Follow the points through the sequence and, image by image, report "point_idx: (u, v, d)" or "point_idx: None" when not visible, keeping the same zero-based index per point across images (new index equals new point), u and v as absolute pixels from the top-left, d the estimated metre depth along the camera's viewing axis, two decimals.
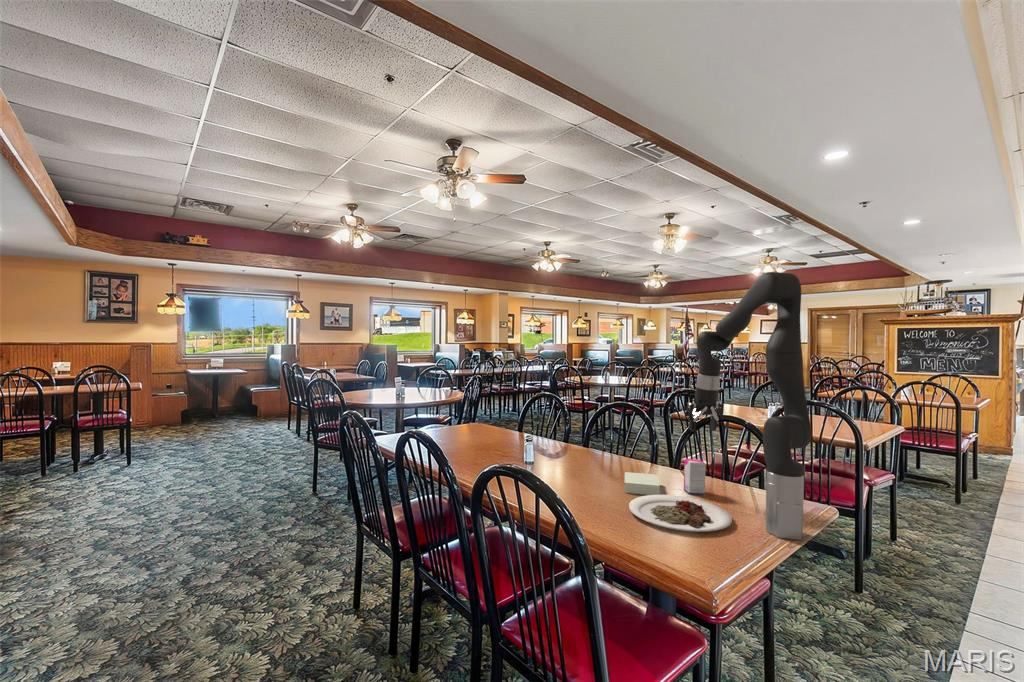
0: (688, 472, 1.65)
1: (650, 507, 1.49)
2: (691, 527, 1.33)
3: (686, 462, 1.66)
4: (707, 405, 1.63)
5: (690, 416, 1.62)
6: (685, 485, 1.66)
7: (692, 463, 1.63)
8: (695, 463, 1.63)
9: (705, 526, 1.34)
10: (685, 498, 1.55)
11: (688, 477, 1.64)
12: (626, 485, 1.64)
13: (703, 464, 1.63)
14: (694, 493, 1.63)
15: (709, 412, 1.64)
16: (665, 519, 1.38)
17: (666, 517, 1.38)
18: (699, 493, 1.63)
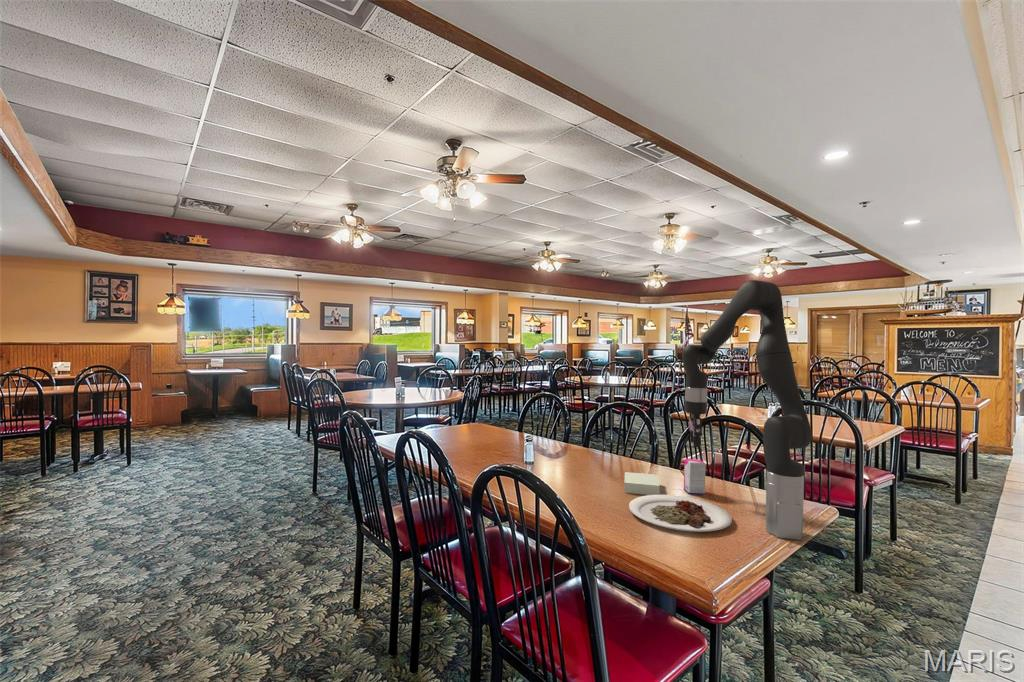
0: (688, 472, 1.65)
1: (650, 507, 1.49)
2: (691, 527, 1.33)
3: (686, 462, 1.66)
4: None
5: (701, 432, 1.59)
6: (685, 485, 1.66)
7: (692, 463, 1.63)
8: (695, 463, 1.63)
9: (705, 526, 1.34)
10: (685, 498, 1.55)
11: (688, 477, 1.64)
12: (626, 485, 1.64)
13: (703, 464, 1.63)
14: (694, 493, 1.63)
15: None
16: (665, 519, 1.38)
17: (666, 517, 1.38)
18: (699, 493, 1.63)
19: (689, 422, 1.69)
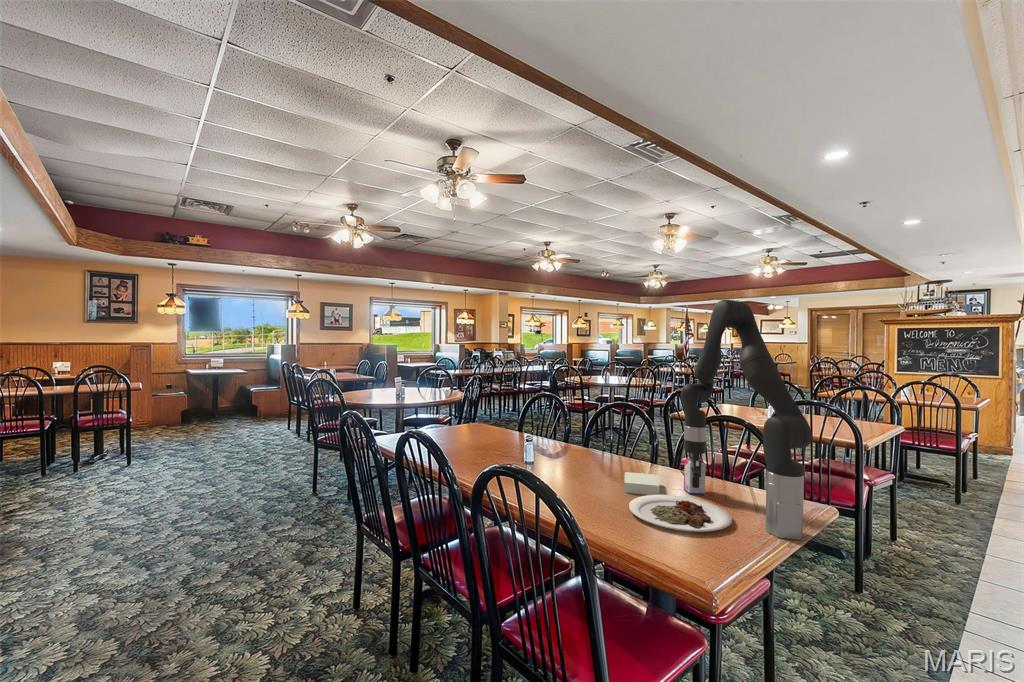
0: (688, 472, 1.65)
1: (650, 507, 1.49)
2: (691, 527, 1.33)
3: (686, 462, 1.66)
4: None
5: (700, 473, 1.60)
6: (685, 485, 1.66)
7: (692, 463, 1.63)
8: None
9: (705, 526, 1.34)
10: (685, 498, 1.55)
11: (688, 477, 1.64)
12: (626, 485, 1.64)
13: (703, 464, 1.63)
14: (694, 493, 1.63)
15: None
16: (665, 519, 1.38)
17: (666, 517, 1.38)
18: (699, 493, 1.63)
19: None
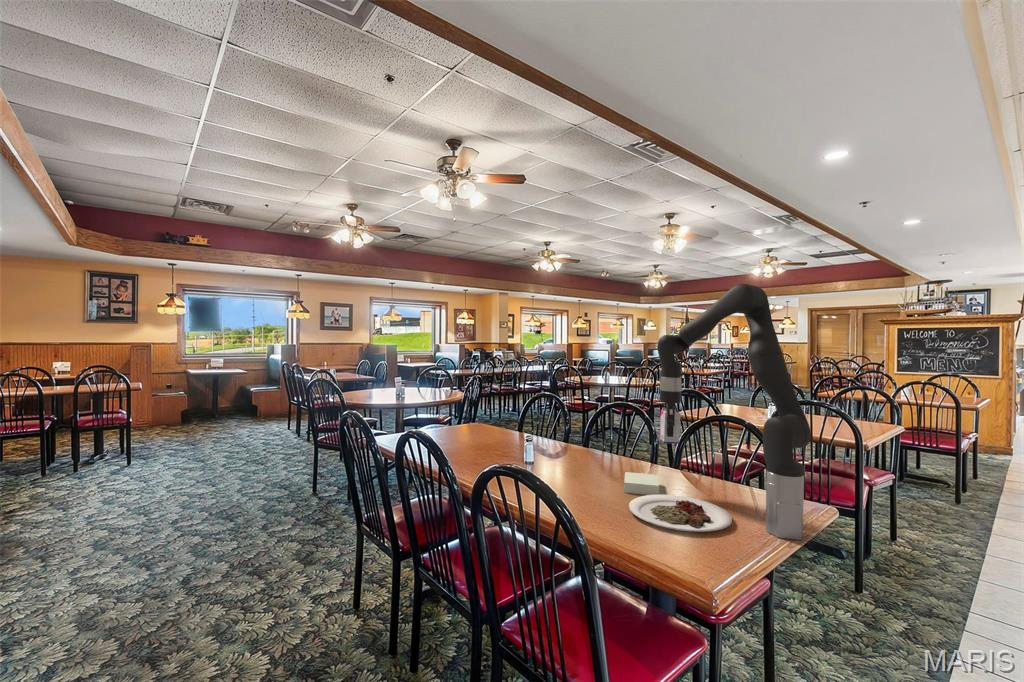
0: (663, 422, 1.67)
1: (650, 507, 1.49)
2: (691, 527, 1.33)
3: (662, 412, 1.69)
4: None
5: (674, 421, 1.62)
6: (660, 435, 1.69)
7: None
8: None
9: (705, 526, 1.34)
10: (685, 498, 1.55)
11: (663, 427, 1.67)
12: (626, 485, 1.64)
13: (678, 414, 1.65)
14: (668, 442, 1.65)
15: None
16: (665, 519, 1.38)
17: (666, 517, 1.38)
18: (673, 442, 1.65)
19: None
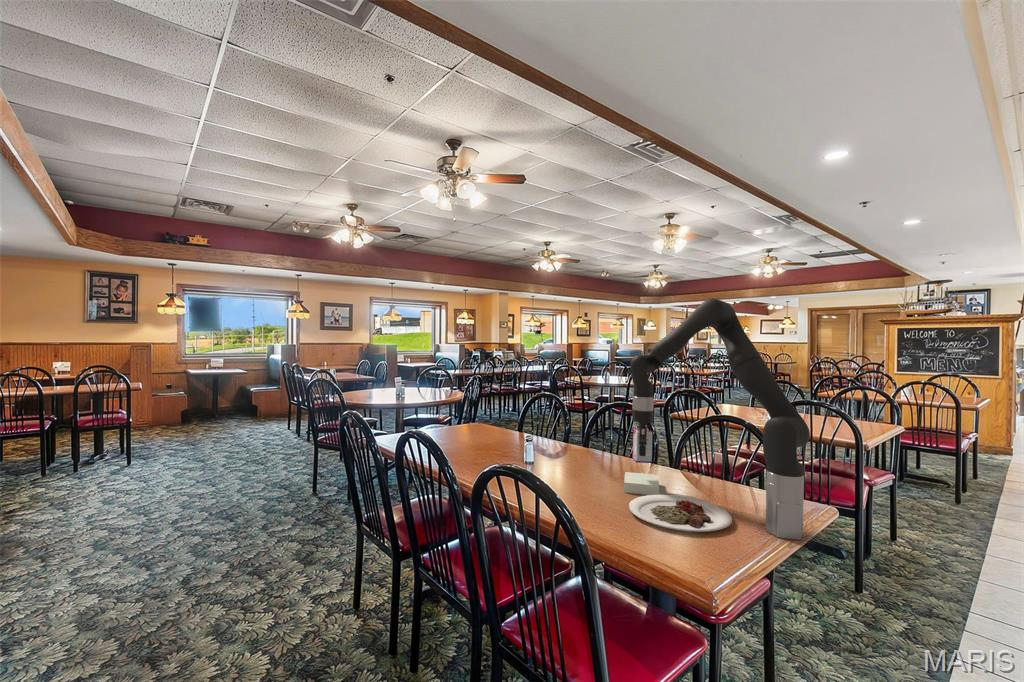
0: (635, 441, 1.68)
1: (650, 507, 1.49)
2: (691, 527, 1.33)
3: (634, 431, 1.70)
4: (645, 426, 1.69)
5: None
6: (633, 454, 1.70)
7: None
8: None
9: (705, 526, 1.34)
10: (685, 498, 1.55)
11: (635, 446, 1.68)
12: (626, 485, 1.64)
13: (650, 433, 1.66)
14: (641, 461, 1.66)
15: None
16: (665, 519, 1.38)
17: (666, 517, 1.38)
18: (646, 461, 1.66)
19: None
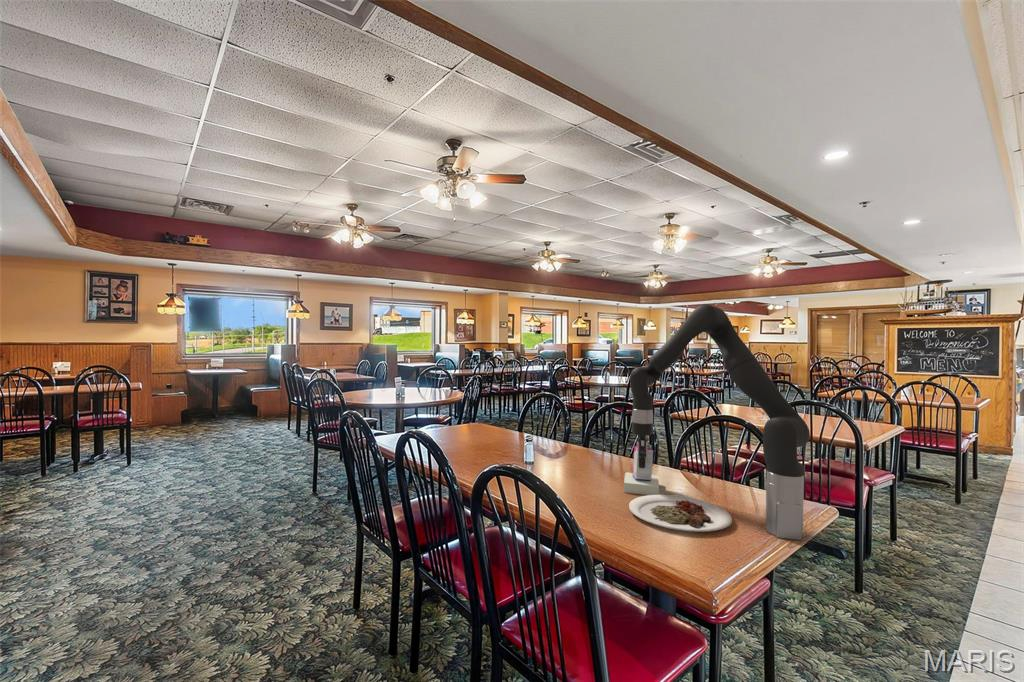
0: (636, 459, 1.68)
1: (650, 507, 1.49)
2: (691, 527, 1.33)
3: (635, 449, 1.70)
4: None
5: (645, 453, 1.63)
6: (633, 471, 1.70)
7: None
8: None
9: (705, 526, 1.34)
10: (685, 498, 1.55)
11: (636, 463, 1.68)
12: (625, 485, 1.64)
13: (650, 451, 1.66)
14: (641, 479, 1.66)
15: None
16: (665, 519, 1.38)
17: (666, 517, 1.38)
18: (645, 479, 1.66)
19: None
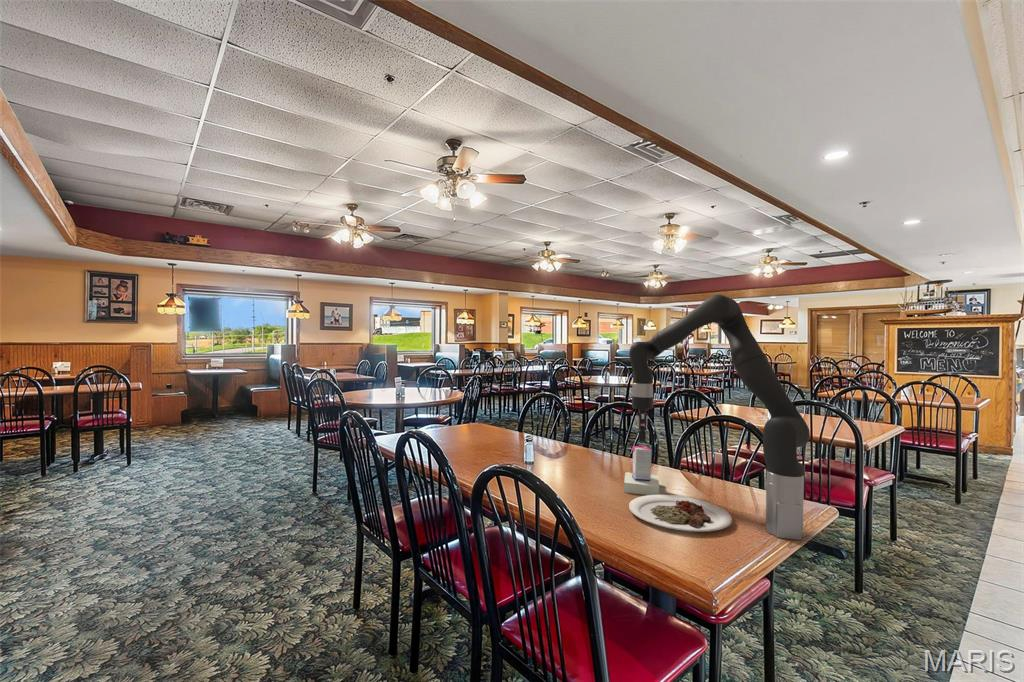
0: (634, 459, 1.68)
1: (650, 507, 1.49)
2: (691, 527, 1.33)
3: (634, 449, 1.70)
4: (645, 413, 1.69)
5: None
6: (632, 472, 1.70)
7: (638, 450, 1.67)
8: (641, 450, 1.67)
9: (705, 526, 1.34)
10: (685, 498, 1.55)
11: (634, 464, 1.68)
12: (626, 485, 1.64)
13: (649, 451, 1.66)
14: (640, 479, 1.66)
15: None
16: (665, 519, 1.38)
17: (666, 517, 1.38)
18: (645, 479, 1.66)
19: None
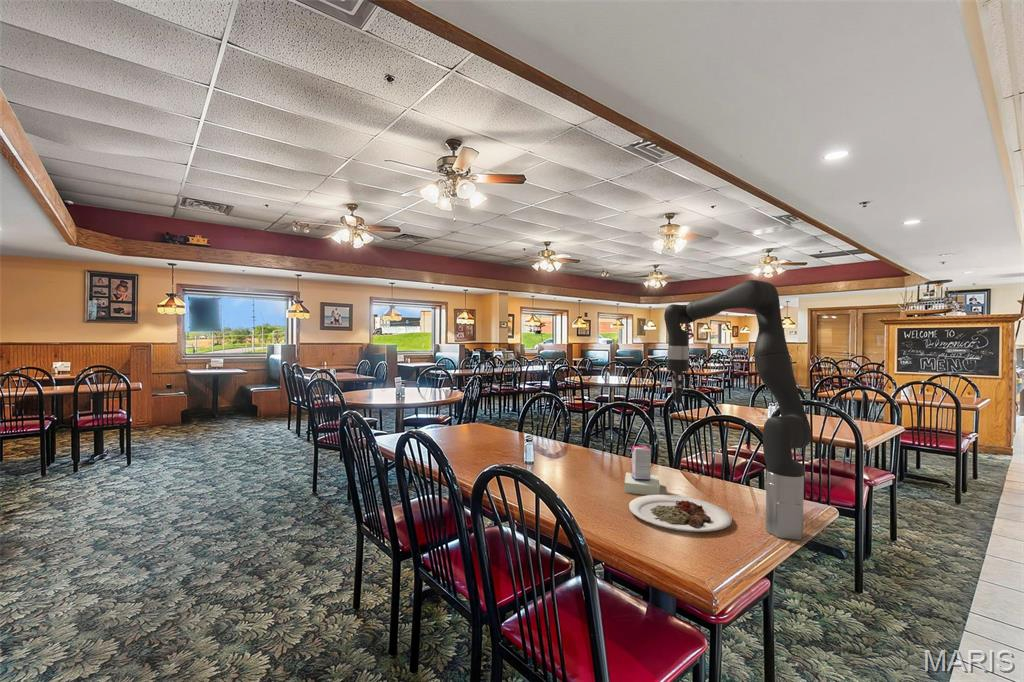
0: (634, 459, 1.68)
1: (650, 507, 1.49)
2: (691, 527, 1.33)
3: (633, 449, 1.70)
4: None
5: (682, 387, 1.63)
6: (632, 472, 1.70)
7: (637, 450, 1.67)
8: (640, 450, 1.67)
9: (705, 526, 1.34)
10: (685, 498, 1.55)
11: (634, 463, 1.68)
12: (626, 485, 1.64)
13: (648, 450, 1.67)
14: (640, 479, 1.67)
15: None
16: (665, 519, 1.38)
17: (666, 517, 1.38)
18: (645, 479, 1.67)
19: (672, 381, 1.73)
